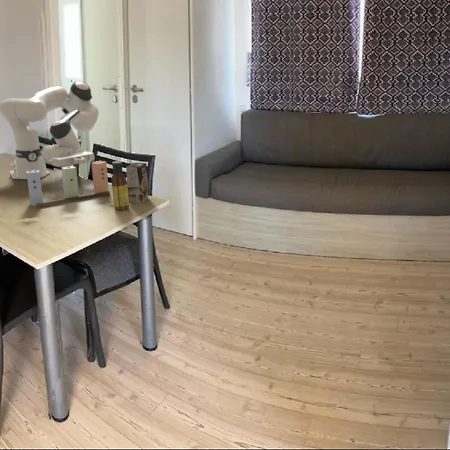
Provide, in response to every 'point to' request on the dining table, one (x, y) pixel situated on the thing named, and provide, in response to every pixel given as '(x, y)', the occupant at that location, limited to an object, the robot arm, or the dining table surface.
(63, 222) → the dining table surface
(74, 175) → the tile one
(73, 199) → the tile rack
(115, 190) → the sauce bottle
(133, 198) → the coffee box
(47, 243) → the dining table surface
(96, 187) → the tile three
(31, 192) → the tile two
